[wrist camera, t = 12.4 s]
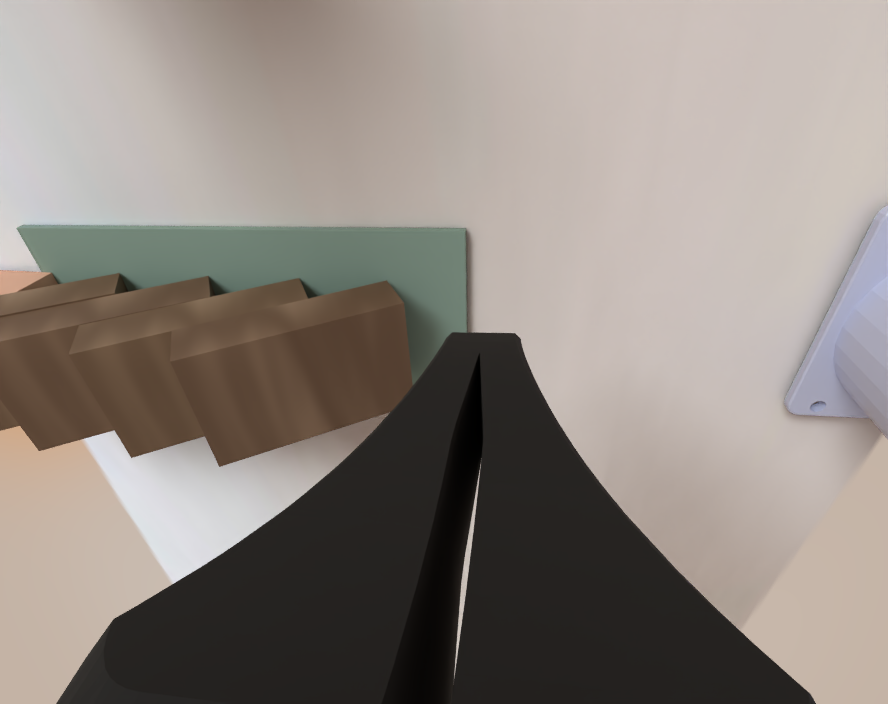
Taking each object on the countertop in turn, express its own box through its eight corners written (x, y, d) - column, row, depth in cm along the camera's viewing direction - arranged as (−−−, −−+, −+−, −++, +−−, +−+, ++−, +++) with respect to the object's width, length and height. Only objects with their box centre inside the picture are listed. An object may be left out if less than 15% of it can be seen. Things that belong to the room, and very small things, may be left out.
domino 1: (114, 293, 17) (-143, 343, 15) (161, 388, 20) (-52, 443, 17) (119, 273, 18) (-115, 316, 16) (162, 364, 21) (-35, 413, 19)
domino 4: (404, 302, 16) (170, 361, 14) (414, 403, 18) (219, 466, 16) (386, 280, 17) (171, 330, 15) (399, 377, 20) (216, 431, 17)
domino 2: (210, 296, 17) (-38, 349, 14) (245, 393, 19) (39, 450, 17) (208, 275, 18) (-19, 321, 16) (241, 369, 21) (50, 419, 18)
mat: (465, 228, 16) (465, 231, 16) (468, 407, 21) (467, 412, 20) (23, 225, 18) (16, 228, 18) (116, 389, 23) (111, 393, 22)
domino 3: (308, 299, 16) (68, 354, 14) (331, 398, 19) (131, 457, 17) (299, 277, 18) (78, 325, 15) (321, 372, 20) (135, 424, 18)
